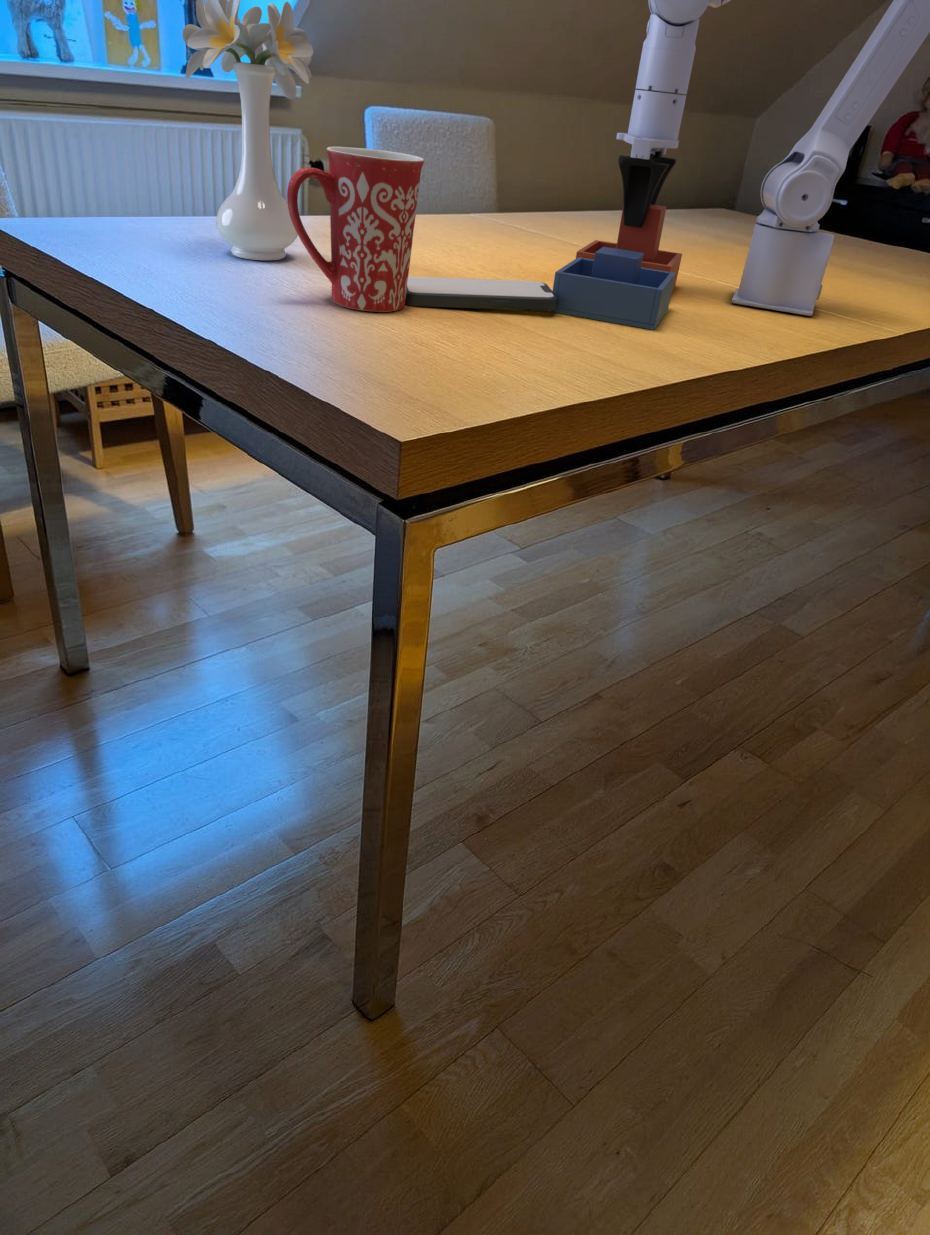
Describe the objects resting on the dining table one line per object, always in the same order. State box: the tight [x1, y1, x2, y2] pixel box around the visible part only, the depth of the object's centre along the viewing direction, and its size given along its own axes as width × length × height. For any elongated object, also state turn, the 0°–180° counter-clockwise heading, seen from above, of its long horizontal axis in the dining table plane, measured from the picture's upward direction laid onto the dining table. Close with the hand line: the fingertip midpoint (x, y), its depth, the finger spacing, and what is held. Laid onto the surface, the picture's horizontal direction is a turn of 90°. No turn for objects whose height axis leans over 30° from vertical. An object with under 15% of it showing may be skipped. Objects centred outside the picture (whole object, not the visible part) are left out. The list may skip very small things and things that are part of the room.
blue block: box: [591, 247, 644, 285], centre depth 95 cm, size 4×4×6 cm
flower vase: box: [182, 0, 314, 262], centre depth 97 cm, size 13×18×25 cm
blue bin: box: [549, 257, 676, 331], centre depth 95 cm, size 11×11×4 cm
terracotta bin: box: [575, 239, 683, 291], centre depth 108 cm, size 11×11×4 cm
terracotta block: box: [616, 204, 667, 260], centre depth 106 cm, size 4×4×6 cm
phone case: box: [405, 275, 558, 312], centre depth 93 cm, size 9×2×16 cm
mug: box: [286, 146, 425, 313], centre depth 84 cm, size 13×9×14 cm
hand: (636, 224), depth 105 cm, fingers closed on terracotta block, 4 cm apart
